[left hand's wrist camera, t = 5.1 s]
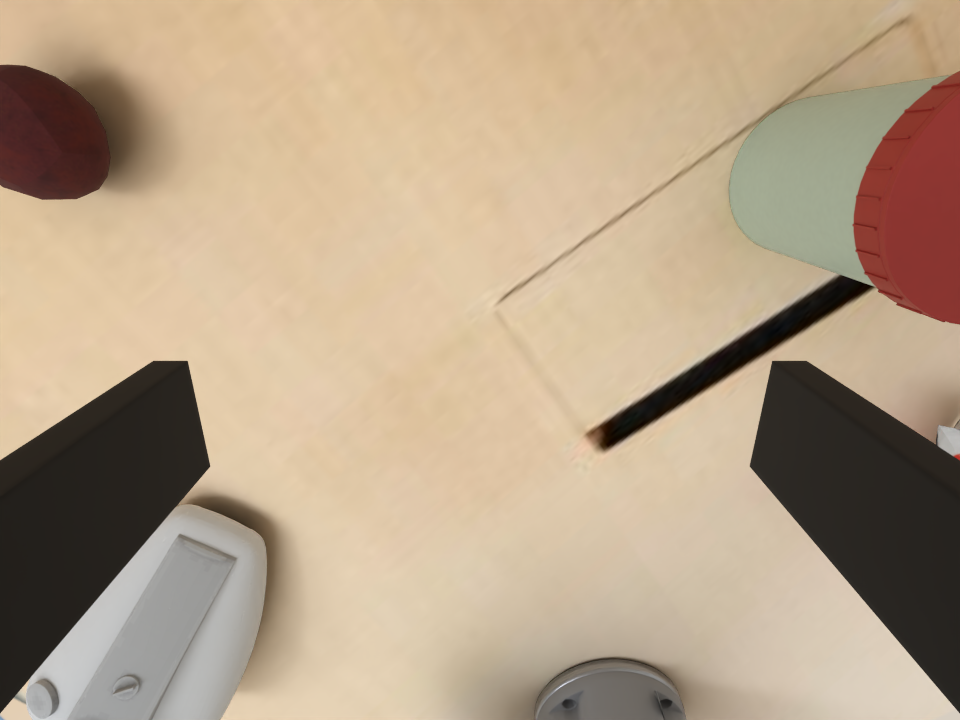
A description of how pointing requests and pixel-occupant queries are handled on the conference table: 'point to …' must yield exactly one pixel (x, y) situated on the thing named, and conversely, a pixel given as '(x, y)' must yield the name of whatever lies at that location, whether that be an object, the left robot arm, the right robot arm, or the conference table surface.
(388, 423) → the conference table surface
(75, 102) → the potato
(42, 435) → the left robot arm
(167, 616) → the projector
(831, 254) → the jar
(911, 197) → the lid
